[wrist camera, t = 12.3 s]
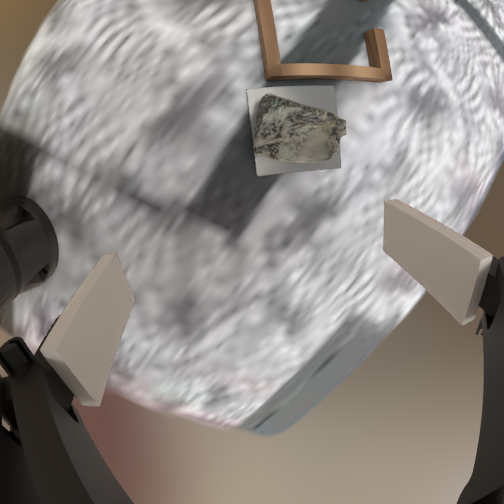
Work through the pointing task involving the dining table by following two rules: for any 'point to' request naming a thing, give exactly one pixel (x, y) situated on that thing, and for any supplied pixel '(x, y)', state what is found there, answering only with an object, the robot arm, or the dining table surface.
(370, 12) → the dining table surface
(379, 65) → the frame
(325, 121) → the stone
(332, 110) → the slate coaster
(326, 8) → the dining table surface
